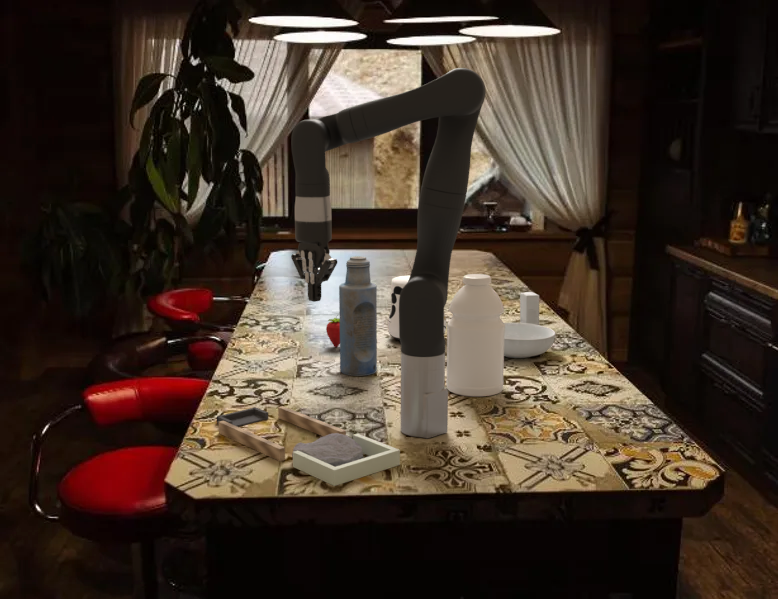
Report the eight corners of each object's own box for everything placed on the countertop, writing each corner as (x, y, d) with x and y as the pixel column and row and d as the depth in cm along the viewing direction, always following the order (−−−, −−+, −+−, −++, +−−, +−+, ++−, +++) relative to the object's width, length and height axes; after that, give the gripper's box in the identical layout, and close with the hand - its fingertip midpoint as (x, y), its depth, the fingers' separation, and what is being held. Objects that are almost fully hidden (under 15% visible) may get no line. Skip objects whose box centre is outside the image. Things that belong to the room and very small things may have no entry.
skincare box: (539, 334, 292) (541, 295, 290) (525, 335, 291) (526, 295, 289) (532, 329, 298) (533, 291, 296) (518, 330, 297) (519, 291, 295)
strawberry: (345, 343, 280) (345, 310, 278) (348, 350, 272) (347, 315, 270) (325, 344, 279) (325, 310, 277) (327, 350, 271) (326, 316, 270)
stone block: (368, 470, 187) (338, 447, 194) (370, 449, 185) (340, 426, 192) (316, 486, 180) (288, 461, 187) (318, 464, 178) (290, 440, 185)
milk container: (458, 341, 283) (459, 281, 280) (410, 349, 274) (410, 286, 270) (423, 330, 297) (423, 272, 294) (376, 337, 288) (376, 278, 284)
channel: (345, 442, 197) (345, 430, 196) (279, 461, 186) (279, 449, 186) (282, 417, 213) (282, 406, 212) (218, 433, 202) (218, 421, 202)
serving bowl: (520, 368, 254) (521, 342, 253) (463, 353, 270) (464, 329, 268) (570, 355, 268) (571, 331, 266) (513, 341, 283) (514, 318, 282)
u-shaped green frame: (399, 464, 184) (399, 449, 184) (334, 485, 174) (334, 470, 173) (357, 447, 194) (357, 433, 193) (293, 466, 183) (292, 451, 183)
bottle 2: (438, 393, 231) (440, 278, 225) (454, 379, 243) (456, 269, 238) (496, 400, 226) (499, 282, 220) (509, 384, 239) (512, 273, 233)
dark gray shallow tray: (268, 418, 212) (268, 412, 211) (229, 428, 205) (229, 421, 205) (255, 413, 215) (255, 407, 215) (216, 423, 209) (216, 416, 208)
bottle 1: (348, 378, 244) (347, 261, 238) (334, 368, 253) (333, 255, 247) (382, 374, 248) (382, 258, 242) (368, 365, 256) (368, 253, 251)
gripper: (348, 219, 196) (348, 302, 199) (307, 214, 205) (309, 294, 209) (319, 222, 191) (320, 307, 194) (279, 217, 200) (281, 298, 204)
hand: (314, 300), depth 202 cm, fingers closed
